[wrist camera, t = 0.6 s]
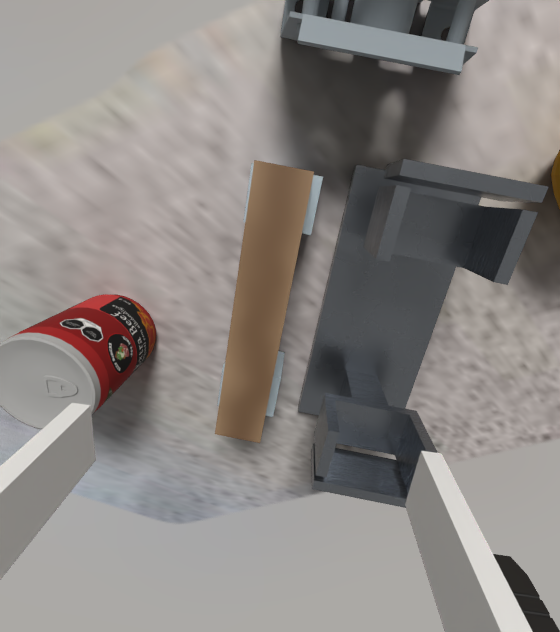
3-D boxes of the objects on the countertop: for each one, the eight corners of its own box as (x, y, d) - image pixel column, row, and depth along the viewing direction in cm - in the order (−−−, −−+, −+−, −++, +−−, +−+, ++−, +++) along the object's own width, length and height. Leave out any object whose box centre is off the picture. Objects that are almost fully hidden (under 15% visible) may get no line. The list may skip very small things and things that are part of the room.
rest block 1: (253, 217, 30) (243, 221, 25) (260, 167, 29) (251, 162, 24) (310, 228, 30) (310, 235, 25) (320, 179, 29) (323, 176, 24)
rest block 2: (229, 377, 35) (217, 405, 31) (234, 342, 34) (222, 366, 29) (277, 387, 35) (272, 417, 31) (284, 352, 34) (281, 377, 29)
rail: (225, 407, 31) (214, 433, 27) (261, 164, 24) (254, 160, 21) (265, 415, 31) (259, 442, 27) (313, 174, 24) (314, 171, 21)
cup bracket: (298, 404, 36) (295, 487, 26) (354, 165, 28) (381, 150, 18) (394, 423, 36) (428, 514, 26) (476, 189, 28) (573, 187, 18)
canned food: (168, 358, 35) (110, 426, 25) (96, 368, 36) (11, 438, 26) (145, 285, 33) (71, 327, 22) (68, 298, 34) (-36, 344, 24)
